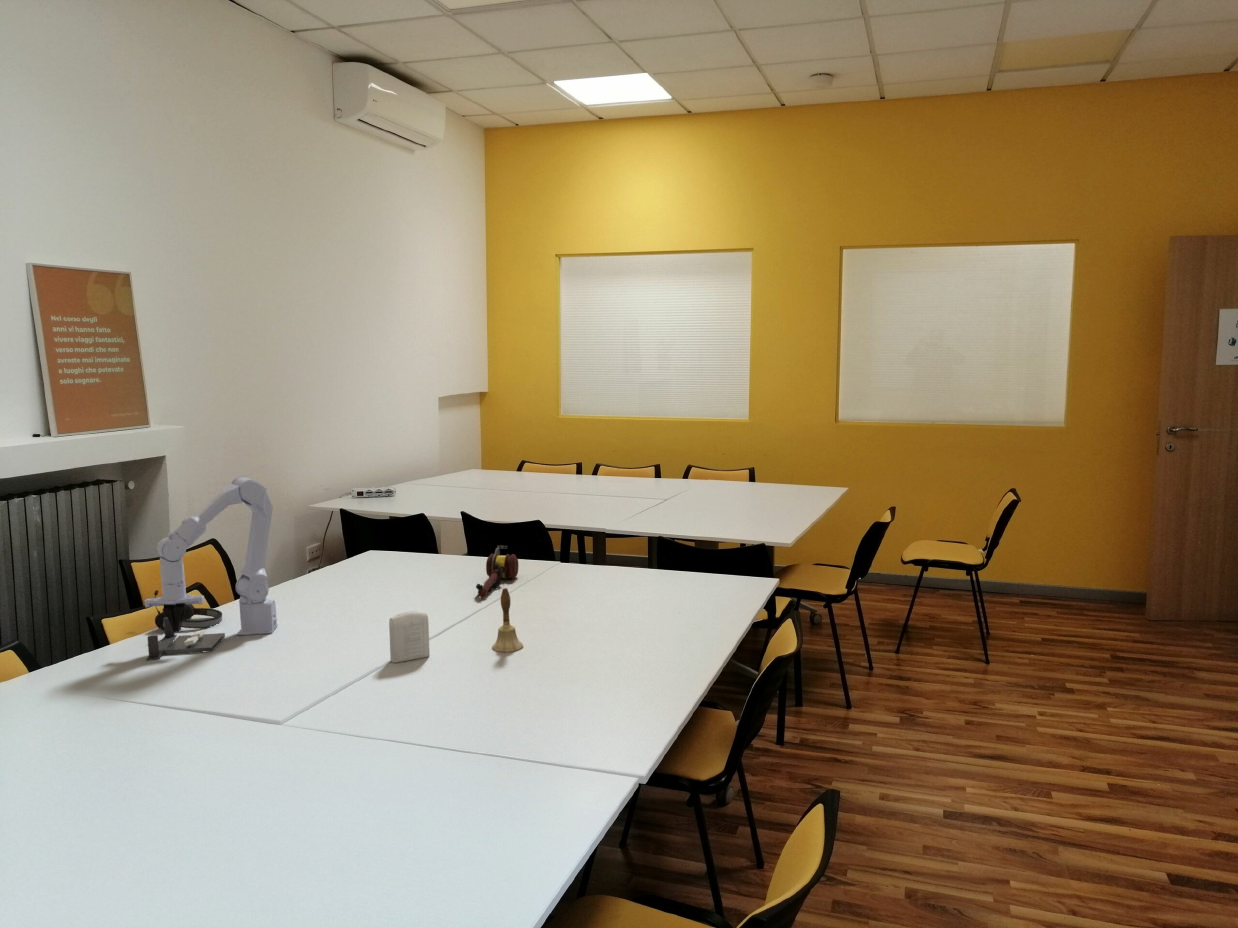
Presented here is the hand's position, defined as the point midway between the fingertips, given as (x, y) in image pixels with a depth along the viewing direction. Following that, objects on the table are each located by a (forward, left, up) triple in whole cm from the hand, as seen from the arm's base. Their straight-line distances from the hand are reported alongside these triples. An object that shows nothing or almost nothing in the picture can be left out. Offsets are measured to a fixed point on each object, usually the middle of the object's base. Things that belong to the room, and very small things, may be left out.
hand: (177, 631), depth 250 cm
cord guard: (+4, 0, -5) cm, 6 cm away
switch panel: (-4, 0, -4) cm, 6 cm away
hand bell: (-88, +19, -5) cm, 91 cm away
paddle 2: (-4, -3, -2) cm, 6 cm away
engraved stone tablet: (-63, +23, -5) cm, 68 cm away
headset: (+4, -23, -5) cm, 24 cm away
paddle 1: (-4, +3, -2) cm, 6 cm away
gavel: (-86, -48, -5) cm, 99 cm away
